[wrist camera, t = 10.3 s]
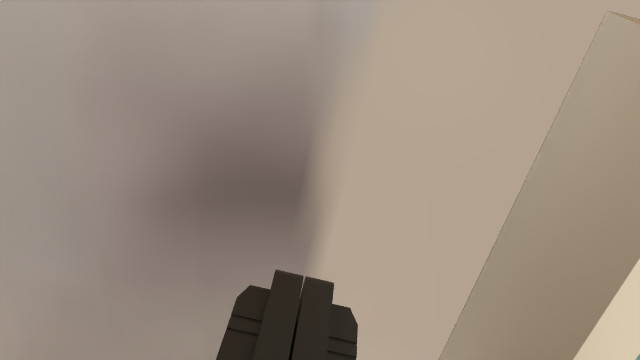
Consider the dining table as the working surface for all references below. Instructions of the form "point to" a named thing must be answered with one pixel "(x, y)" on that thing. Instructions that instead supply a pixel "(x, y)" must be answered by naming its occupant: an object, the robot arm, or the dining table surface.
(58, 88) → the dining table surface
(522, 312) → the tray
